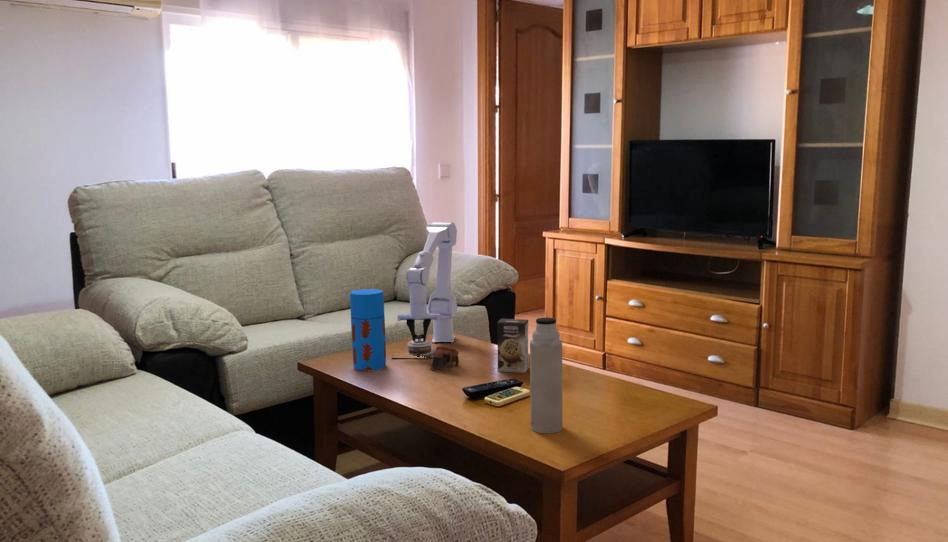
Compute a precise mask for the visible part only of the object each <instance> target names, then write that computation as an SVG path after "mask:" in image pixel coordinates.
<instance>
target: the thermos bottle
mask: <svg viewBox="0 0 948 542" xmlns="http://www.w3.org/2000/svg"><path fill="white" fill-rule="evenodd" d="M556 322H557V320H556V318H554V317H538V318H536V320H535V323H536V324H535V330H533V331H532V335H531V340H529V356H530V357H529V359H530V360H529V361H530V362H529V372H530V374H529V385H530V386H529V387H530V389H529V390H530V391H529V395H530V399H529V401H530V404H529V405H530V429H531V430H532V431H533V432H535V433H538V434H539V433H540V434H555V433H559V432H561V431H562V430H563V423H564V422H563V420H564V419H563V418H564V417H563V340H562V339H560V336H561V335H560V331H559V330H557V328H556V326H557V325H556Z"/></svg>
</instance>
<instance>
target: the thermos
mask: <svg viewBox="0 0 948 542" xmlns="http://www.w3.org/2000/svg"><path fill="white" fill-rule="evenodd" d="M384 296H385V295H384V291H383V290H382V289H376V288H367V289H356V290H352V291H351V292H350V293H349V305H350V328H351V329H350V330H351V348H352V351H351V353H352V354H351V355H352V362H353V364H352V365H353V369H354V368H355V369H354V370H356V369H357V370H356V371H359V370H367V371H366V372H369V371H368V370H375V371H378V370H377V369H380V370H382V369H381V368H383V369H384V367H385V368H386V367H387V366H386V365H387V364H386V363H387V349H386V347H387V345H386V321H385V297H384Z"/></svg>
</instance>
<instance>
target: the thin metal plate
mask: <svg viewBox="0 0 948 542" xmlns="http://www.w3.org/2000/svg"><path fill="white" fill-rule="evenodd" d="M432 344H433V343H432V341H430V340H429V343H428V344H425V345H412V344H410V341H408V342H407V349H408V354H409V355H413V356H417V357H420V356H422V357H423V356H424V359H433V355H432V354H433V352H434V351H435V350H437V349H436V348H437V347H432ZM431 348H433V350H432V349H431ZM434 348H435V349H434ZM425 357H426V358H425ZM392 358H393V357H392V356H391V359H392ZM395 358H396V357H395Z"/></svg>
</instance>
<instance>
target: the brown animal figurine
mask: <svg viewBox="0 0 948 542" xmlns="http://www.w3.org/2000/svg"><path fill="white" fill-rule="evenodd" d="M435 348H436V349H437V350H435V351H434V352H433V354H432V355H433V358H432V362H430V364H429V370H430V369H431V371H433V370H434V371H438V372H442V371H445V368H446V369H447V370H450V369H451V370H452V369H453V367H454V364H455V367H457V366H459V364H460V362H459V361H460V359H459V358H460V357H459V351H458V350H456V349H454V348H453V347H449V346H443V345H442V346H441V345H440V346H436V347H435Z"/></svg>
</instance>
